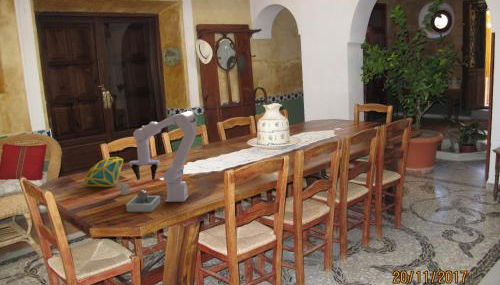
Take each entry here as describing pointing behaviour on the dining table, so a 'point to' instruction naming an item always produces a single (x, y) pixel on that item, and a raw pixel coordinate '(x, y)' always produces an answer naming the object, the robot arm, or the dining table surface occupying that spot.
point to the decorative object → (104, 173)
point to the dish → (136, 207)
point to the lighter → (123, 188)
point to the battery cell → (142, 197)
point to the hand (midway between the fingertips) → (146, 179)
